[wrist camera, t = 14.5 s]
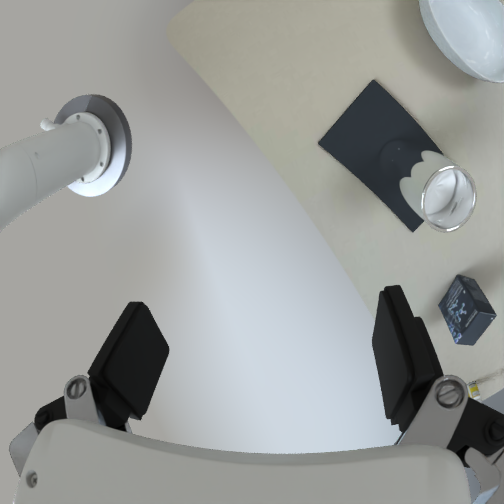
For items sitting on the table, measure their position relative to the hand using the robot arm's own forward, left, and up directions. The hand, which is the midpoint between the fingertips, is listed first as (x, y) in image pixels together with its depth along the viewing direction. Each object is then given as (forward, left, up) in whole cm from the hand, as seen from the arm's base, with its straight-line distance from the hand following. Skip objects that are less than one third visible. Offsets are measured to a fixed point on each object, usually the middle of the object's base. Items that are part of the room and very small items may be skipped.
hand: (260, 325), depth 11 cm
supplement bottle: (+88, -11, -30) cm, 94 cm away
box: (+41, +3, -30) cm, 51 cm away
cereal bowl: (+6, +34, -30) cm, 46 cm away
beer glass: (+12, +10, -29) cm, 33 cm away
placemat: (+12, +10, -30) cm, 34 cm away
